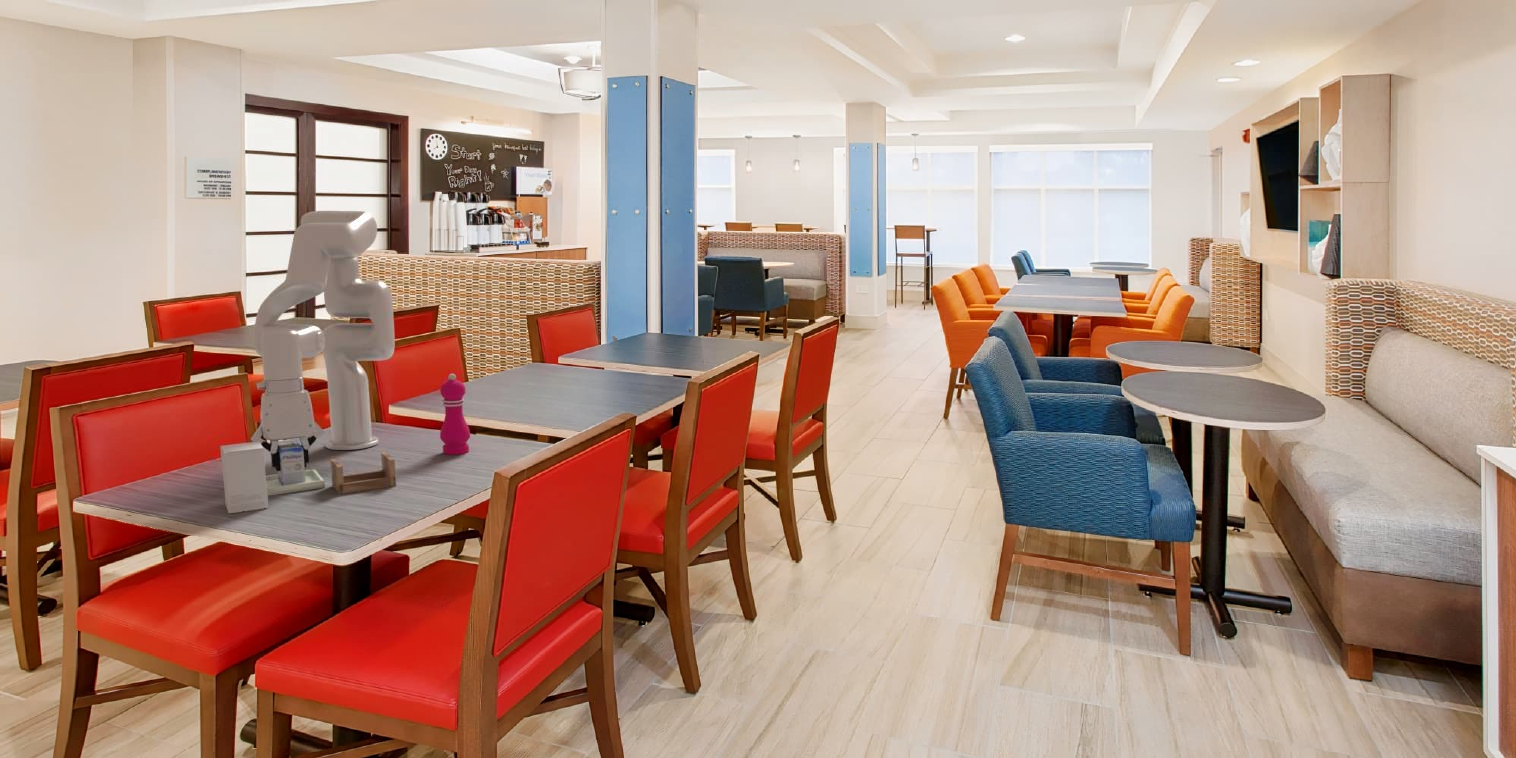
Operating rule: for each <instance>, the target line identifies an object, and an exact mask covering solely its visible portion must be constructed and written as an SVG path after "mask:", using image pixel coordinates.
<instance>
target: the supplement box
mask: <svg viewBox="0 0 1516 758" xmlns="http://www.w3.org/2000/svg"><path fill="white" fill-rule="evenodd" d="M264 449H265V448H264V447H263V446H262V445H261V443H260V442H253V441H251V442H241V443H235V444H226V445H220V458H221V459H220V461H221V467H222V468H221V471H222V480H223V489H224V490H223V492H224V499H225V507H226V509H227V513H228V514H234V513H243V511H244V512H248V511H249V512H250V511H257V510H263V509H264V508H265V509H268V508H269V498H268V497H269V496H268V494H267V483H266V476H267V475H266V464H265V451H264Z"/></svg>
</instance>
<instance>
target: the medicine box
mask: <svg viewBox="0 0 1516 758" xmlns="http://www.w3.org/2000/svg"><path fill="white" fill-rule="evenodd" d="M277 450H278V452H279V454H280V465H281V470H280V471H277V474H278V480H279V481H280V482H281V484H282V485H283V486H284V485H291V484H298V483H305V482H306V481H305V470H306V469H305V468H304V453H303V448H302V447H301V443H299V442H298V441H297V440H287V441H286V440H284V441H278V447H277Z"/></svg>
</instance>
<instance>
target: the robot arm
mask: <svg viewBox="0 0 1516 758" xmlns="http://www.w3.org/2000/svg"><path fill="white" fill-rule="evenodd" d="M377 235H378V225H377V222H376V219H375V218H374V215H372V214H371V213H369V212H367V211H359V210H315V211H309V212H306V213H304V214H303V215H302V216H301V219H300V225H299V226H298V227H297V228H296V229H295V231H294V233H293V238H292V244H291V248H290V254H289V260H288V265H287V270H286V277H285V280H284V281H283V282H282V283H281V284H279V285H278V286H277V287H276V288H274V290H272V291H271V292H270V293H269V295H268V296H267V297H265V299H264V300H263V302H262V303H261V305H260V306H259V308H258V310H257V314H256V317H255V323H254V327H253V334H252V343H253V348H254V349H253V350H254V351H255V352H256V354H257V355H258V356H260V357H262V371H263V380H262V381H261V382H257V383H256V388H257V390H263V391H265V392H263V393H262V394H261V398H260V400H261V401H260V425H259V426H258V428H257V430H255V432H254V434H253V435H252V436H251V438H250V440H251V442H260V443H261V445H262V447H263V449H265V450H267V451H268V452H269V453H270V459H271V468H274V469H275V470H276V472H278V471H280V470H281V465H280V454H279V452H278V450H277V447H278V442H280V441H283V440H284V441H286V440H291V439H299V441H300V446H301V447H302V448H303V453H304V468H307V464H309V463H310V455H309V454H310V453H309V449H310V448H311V446H312V445H313V444H314V443H315V442H316V441H317V439H319V438H320V437H322V436H323V435H324V433H325V430H323V429H322V427H321V426H320V425H319V424H318V423H317V422H316V421H315V419H314V417H315V416H314V411H313V406H312V399H311V396H310V392H309V391H308V390H307V389H305V386H304V375H303V374H304V373H303V362H302V361H303V360H302V359H312V358H315V357H317V356H319V355H320V354H322V355H323V359H324V364H325V369H326V379H327V392H328V404H329V419H330V430H331V431H330V432H331V439H328V440H327V441H326V442H325V448H327V449H329V450H334V451H353V450H354V451H355V450H361V449H366V448H371V447H375V446H376V445H378V444H379V438H378V437H377V436H375V435H373V433H372V419H371V403H370V389H369V378H368V374H367V372H366V371H365V369H364V368H363V367H362V366H361V364H360V363H359V362H363V361H366V362H368V361H370V362H371V361H373V362H375V361H386V360H389V359H391V358H392V357H393V355H394V353H395V346H396V345H395V344H396V340H395V339H396V338H395V335H396V334H395V321H394V320H395V319H394V303H393V296H392V292H391V289H390V287H389V286H388V284H386V283H385V282H384V281H381V280H375V279H372V280H371V279H370V280H365V279H364V280H362V279H361V277H360V269H359V268H360V267H359V266H360V265H359V259H358V257H360V256H361V255H362V254H364V252H365V251H367V250H368V249H369V248H370V247H372V245H373V244H374V242H375V241H376V239H377ZM321 294H323V298H324V299H323V301H324V307H325V310H326V312H327V314H328V315H329V316H332V317H333V318H339V319H341V318H343V319H370V320H371V322H370V323H366V322H365V323H363V322H362V323H359V322H351V323H350V322H348V323H347V322H346V323H345V322H344V323H343V322H341V323H340V322H339V323H334V324H330V325H327V326H326V327H325V328H324V329H323V330H322V329H321V328H320V327H318V326H316V325H314V324H302V323H301V324H299V323H297V324H293V323H290V324H289V323H286V324H283V323H282V324H278V323H277V322H278V321H279V319H280V318H281V316H282V315H283V314H284V313H285V312H287V311H288V310H289V309H290V308H292V307H294V306H297V305H299V304H301V303H303V302H305V301H308V300H310V299H313V298H315V297H317V296H319V295H321ZM261 437H263V438H264V439H263V438H261ZM268 441H269V442H268Z"/></svg>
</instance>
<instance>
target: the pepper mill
mask: <svg viewBox="0 0 1516 758" xmlns="http://www.w3.org/2000/svg"><path fill="white" fill-rule="evenodd" d="M456 378H457V376H456V374H455V373H450V374H449V375H448V380H446V381H444V382H442V384H441V385H440V388H439V392H440V395H441V397H442V398H443V400H442V402H443V404H442V406H444V411H445V413H444V415H445V416H444V419H443V424H442V425H441V428H440V431H439V432H440V433H439V438H440V440H441V442H443V443H444V444H443V445H442V452H443V453H442V454H444V455H449V456H457V455H463V454H467V453H469V451H470V445H469V443H467V442H468V440H469V439H470V438H471V432H470V431H471V430H470V428H469V425H468V423H467V422H466V420H465V416H464V413H463V411H464V410H463V405H464V404H465V402H464V400H465V399H464V398H463V397H464V396H465V394H466V386H465V384H464V383H463V382H462V381H461V380H458V379H456Z"/></svg>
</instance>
